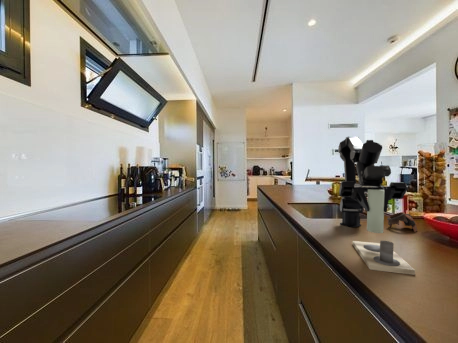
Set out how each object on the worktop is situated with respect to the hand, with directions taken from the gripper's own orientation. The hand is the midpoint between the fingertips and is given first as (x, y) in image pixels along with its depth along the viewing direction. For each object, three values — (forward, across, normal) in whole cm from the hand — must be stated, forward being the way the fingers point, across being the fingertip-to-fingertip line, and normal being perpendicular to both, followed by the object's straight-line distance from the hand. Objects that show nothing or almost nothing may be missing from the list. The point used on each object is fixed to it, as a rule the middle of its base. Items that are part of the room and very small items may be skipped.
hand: (376, 211), depth 71 cm
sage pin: (+4, 0, +6) cm, 7 cm away
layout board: (+11, 0, +7) cm, 14 cm away
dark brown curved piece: (-16, +21, +35) cm, 44 cm away
